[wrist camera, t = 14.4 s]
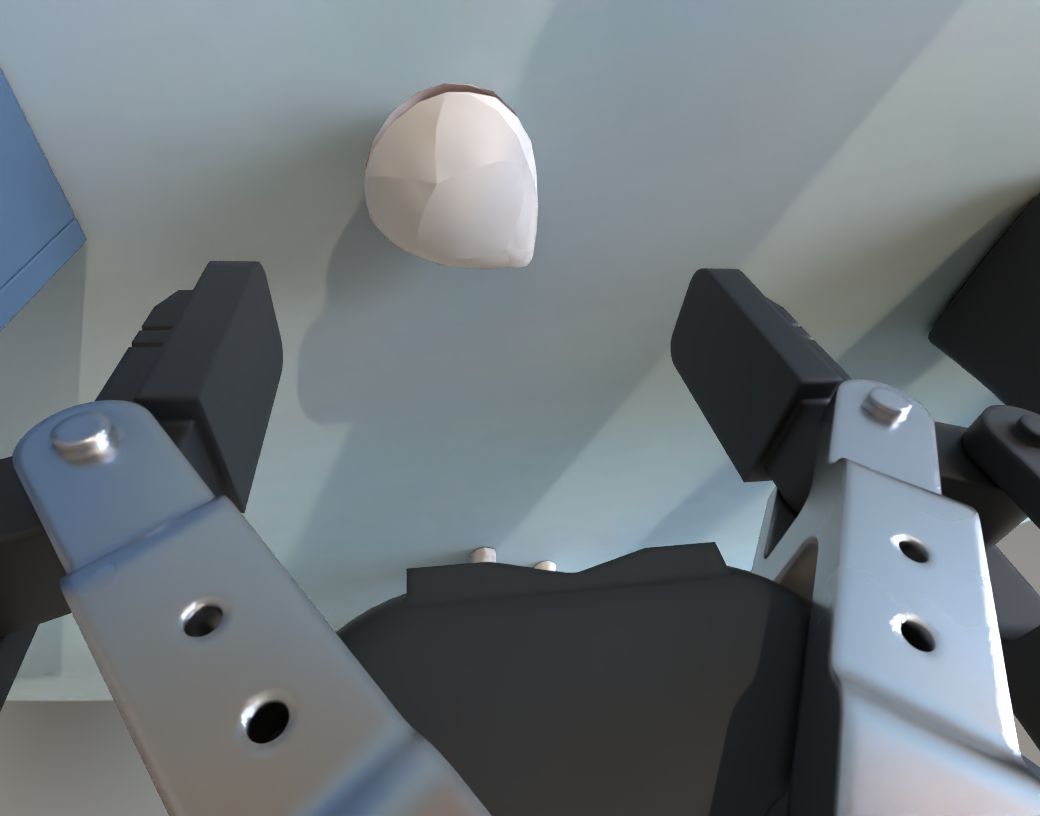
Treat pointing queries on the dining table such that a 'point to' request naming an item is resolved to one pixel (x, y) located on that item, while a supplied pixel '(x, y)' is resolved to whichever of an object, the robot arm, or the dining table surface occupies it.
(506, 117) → the cream rounded dome
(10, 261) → the blue open box
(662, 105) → the dining table surface
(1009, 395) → the battery charger
